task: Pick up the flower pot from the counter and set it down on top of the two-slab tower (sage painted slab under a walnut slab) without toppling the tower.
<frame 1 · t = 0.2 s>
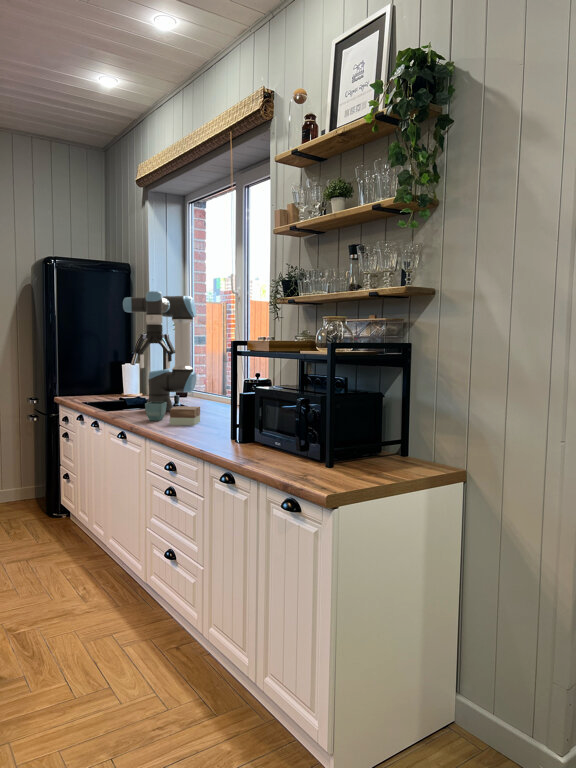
hand: (155, 368, 282), 27 cm above the worktop, fingers open, 13 cm apart
tower top: (185, 416, 285), point 3 cm above the worktop, touching tower base
tower base: (185, 424, 286), on the worktop, touching tower top
flower pot: (156, 420, 295), on the worktop
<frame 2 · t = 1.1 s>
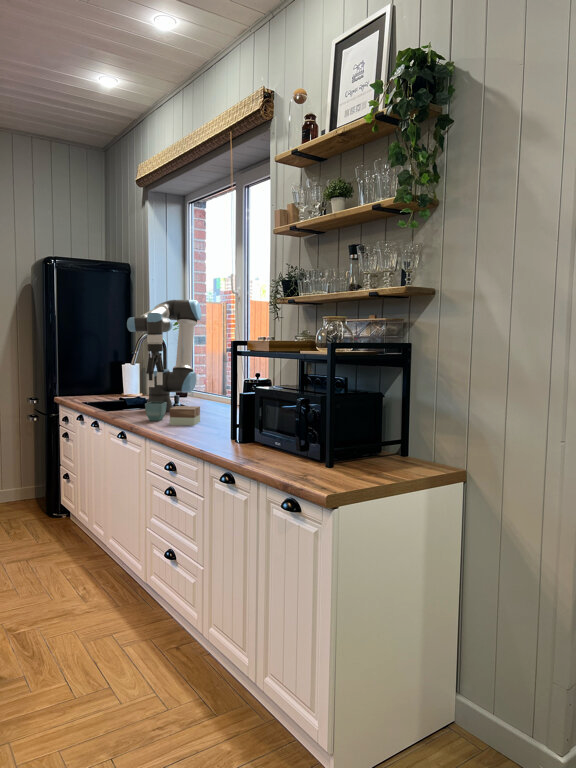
hand: (155, 386, 293), 17 cm above the worktop, fingers open, 13 cm apart
tower top: (185, 415, 285), point 4 cm above the worktop
tower base: (185, 424, 286), on the worktop
everything else where it was.
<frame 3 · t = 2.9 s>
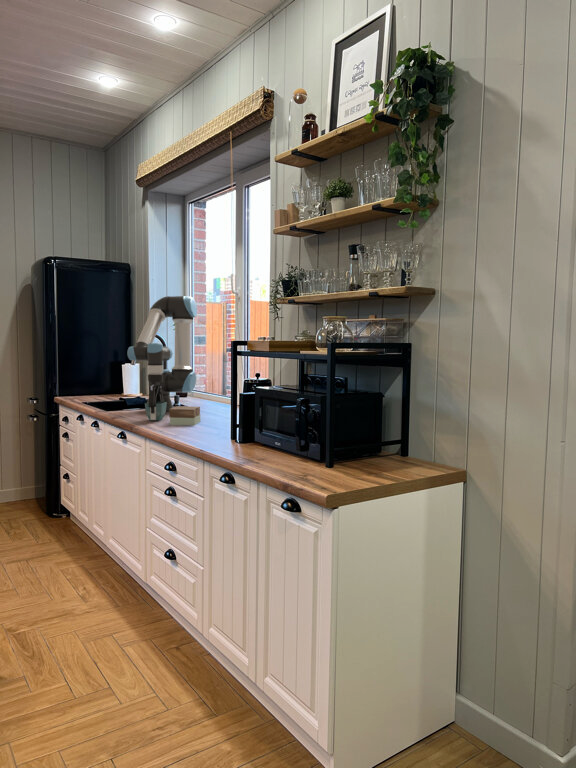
hand: (156, 418, 295), 1 cm above the worktop, fingers closed on flower pot, 8 cm apart
tower top: (184, 416, 285), point 3 cm above the worktop, touching tower base
tower base: (185, 424, 286), on the worktop, touching tower top
flower pot: (156, 420, 295), on the worktop, touching gripper
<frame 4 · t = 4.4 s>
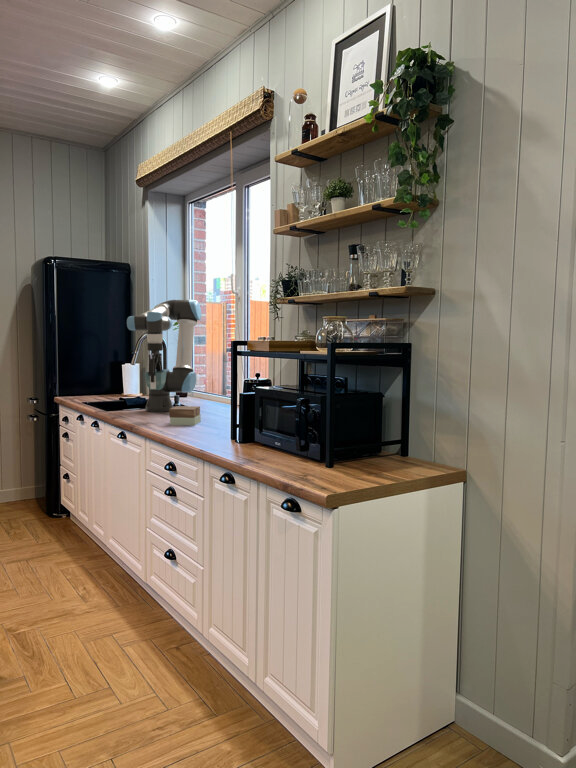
hand: (156, 387, 294), 16 cm above the worktop, fingers closed on flower pot, 8 cm apart
flower pot: (156, 390, 294), point 15 cm above the worktop, touching gripper
everything else where it was.
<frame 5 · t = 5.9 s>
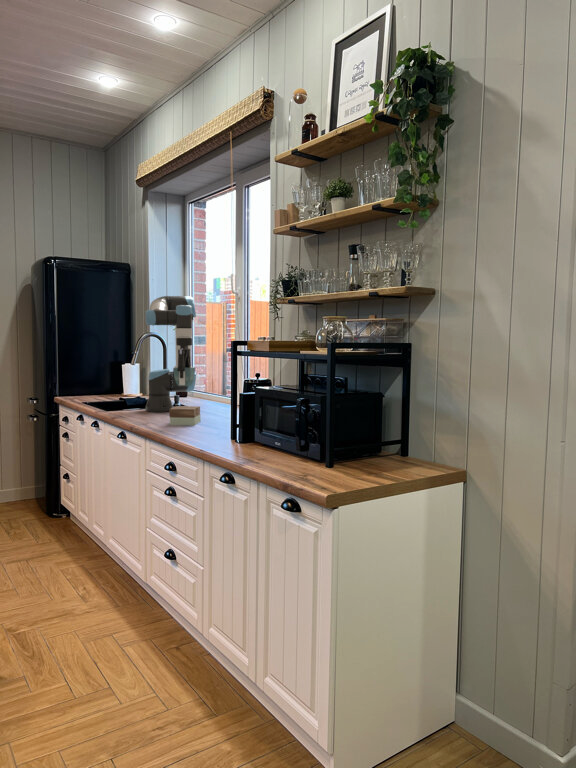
hand: (184, 384, 284), 19 cm above the worktop, fingers closed on flower pot, 8 cm apart
flower pot: (184, 386, 284), point 18 cm above the worktop, touching gripper
everything else where it was.
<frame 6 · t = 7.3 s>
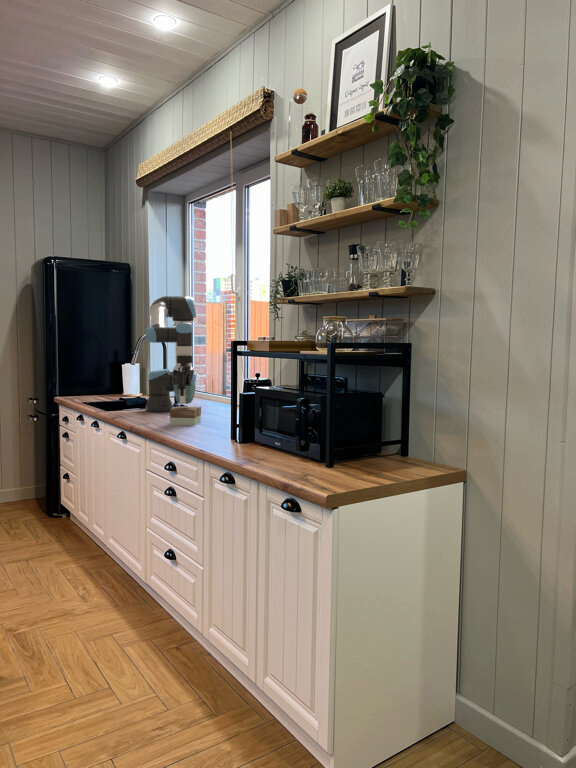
hand: (185, 401, 285), 11 cm above the worktop, fingers closed on flower pot, 8 cm apart
tower top: (185, 416, 285), point 3 cm above the worktop
tower base: (185, 424, 286), on the worktop
flower pot: (185, 403, 285), point 10 cm above the worktop, touching gripper
when the fingers open (10 cm above the worktop, at t = 8.4 s): flower pot drops 1 cm, resting on tower top.
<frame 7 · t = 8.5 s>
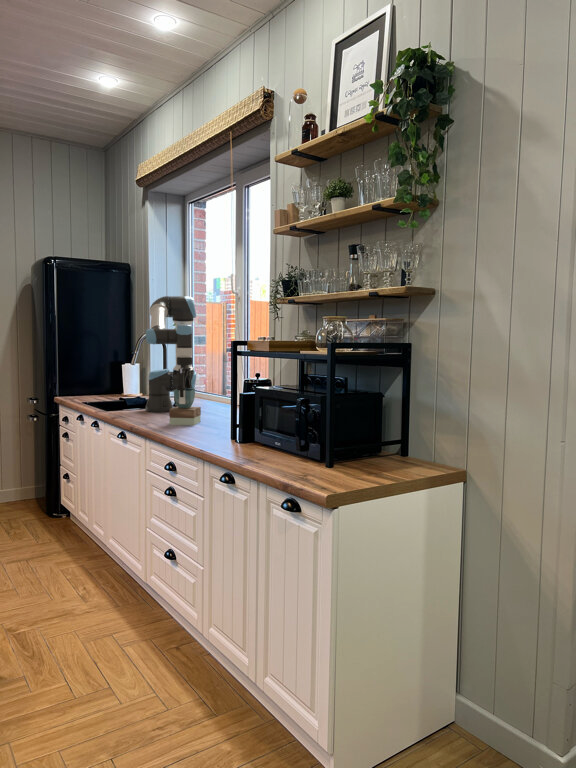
hand: (185, 402, 285), 10 cm above the worktop, fingers open, 10 cm apart
tower top: (185, 416, 285), point 3 cm above the worktop, touching flower pot
flower pot: (185, 407, 286), point 7 cm above the worktop, touching gripper, tower top
everything else where it was.
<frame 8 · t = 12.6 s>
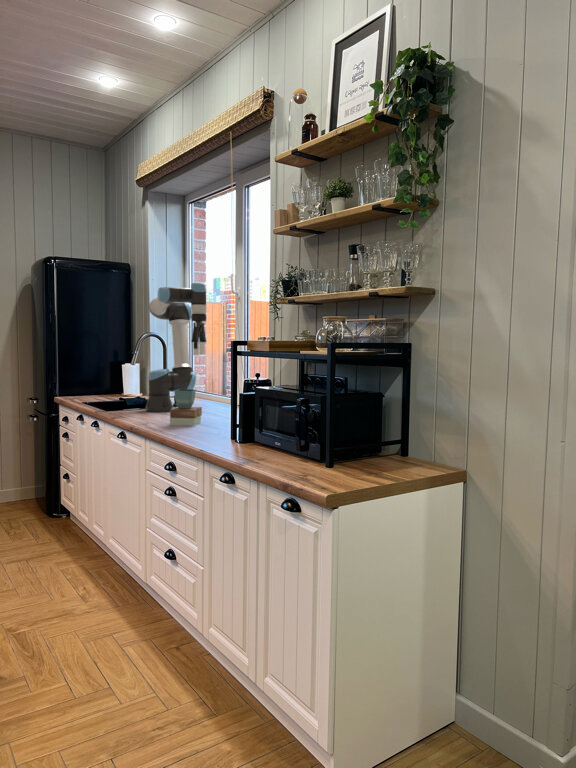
hand: (199, 355, 301), 33 cm above the worktop, fingers open, 13 cm apart
tower top: (186, 416, 284), point 3 cm above the worktop, touching flower pot, tower base
tower base: (185, 424, 285), on the worktop, touching tower top
flower pot: (185, 408, 285), point 7 cm above the worktop, touching tower top
at the end: flower pot inside the target area on the tower top (0.8 cm from its centre), point 3.8 cm above the tower top's base; flower pot tilted 0°; tower top moved 1.2 cm from its start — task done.
